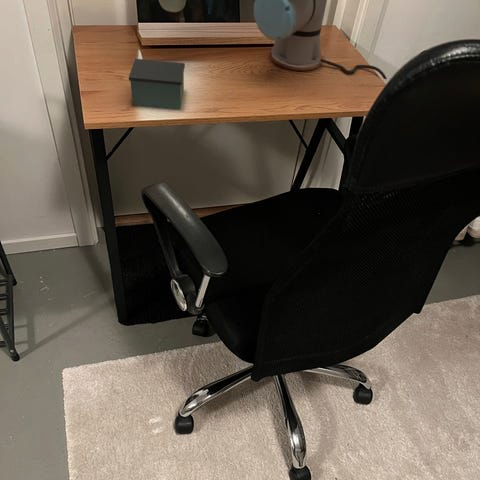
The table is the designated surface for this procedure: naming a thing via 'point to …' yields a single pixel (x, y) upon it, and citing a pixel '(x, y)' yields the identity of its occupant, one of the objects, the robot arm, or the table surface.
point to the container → (157, 83)
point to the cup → (172, 5)
